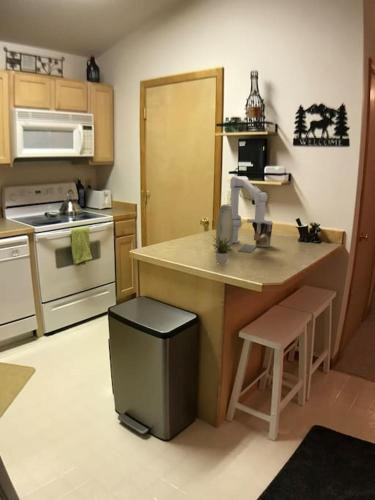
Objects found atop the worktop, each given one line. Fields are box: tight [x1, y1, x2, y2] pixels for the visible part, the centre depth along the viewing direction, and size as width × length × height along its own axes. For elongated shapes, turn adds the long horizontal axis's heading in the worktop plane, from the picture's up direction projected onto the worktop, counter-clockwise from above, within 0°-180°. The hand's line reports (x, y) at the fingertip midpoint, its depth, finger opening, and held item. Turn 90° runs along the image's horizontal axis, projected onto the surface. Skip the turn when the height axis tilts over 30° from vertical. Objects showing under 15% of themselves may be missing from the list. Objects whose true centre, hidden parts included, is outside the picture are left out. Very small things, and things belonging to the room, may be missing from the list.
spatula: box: [253, 232, 265, 242], centre depth 244 cm, size 14×5×4 cm, turn 159°
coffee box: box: [254, 222, 273, 248], centre depth 258 cm, size 9×6×16 cm
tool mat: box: [237, 243, 258, 254], centre depth 253 cm, size 8×19×1 cm, turn 159°
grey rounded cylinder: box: [215, 204, 233, 249], centre depth 246 cm, size 10×10×28 cm
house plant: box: [210, 235, 234, 265], centre depth 218 cm, size 14×14×16 cm
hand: (258, 235), depth 244 cm, fingers closed on spatula, 2 cm apart
